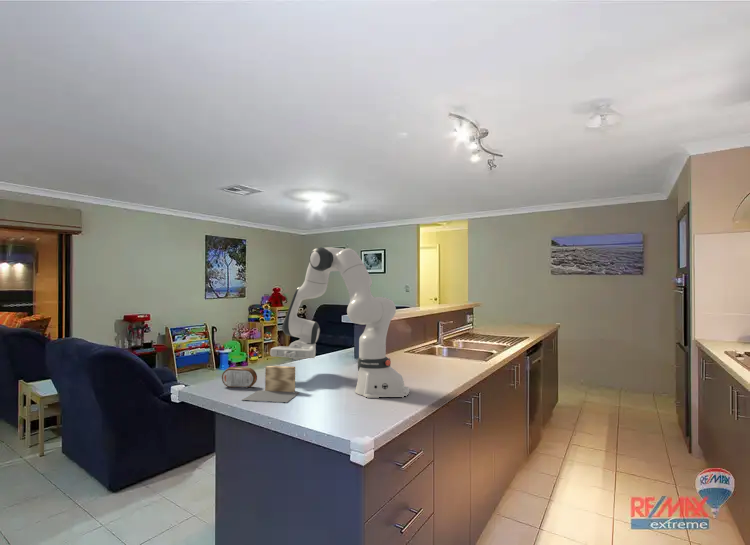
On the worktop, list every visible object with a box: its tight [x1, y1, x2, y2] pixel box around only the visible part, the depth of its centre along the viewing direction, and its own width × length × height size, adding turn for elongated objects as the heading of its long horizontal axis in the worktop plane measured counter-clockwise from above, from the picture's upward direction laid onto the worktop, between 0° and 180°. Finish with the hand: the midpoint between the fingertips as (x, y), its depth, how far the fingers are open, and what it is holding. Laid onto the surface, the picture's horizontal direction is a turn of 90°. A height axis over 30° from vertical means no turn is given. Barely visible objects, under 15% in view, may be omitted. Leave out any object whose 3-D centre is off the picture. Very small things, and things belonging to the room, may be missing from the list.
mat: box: [242, 389, 300, 404], centre depth 146 cm, size 18×13×1 cm
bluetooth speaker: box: [221, 366, 258, 388], centre depth 160 cm, size 15×3×8 cm, turn 84°
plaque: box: [264, 365, 296, 392], centre depth 155 cm, size 12×3×10 cm, turn 81°
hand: (286, 355), depth 162 cm, fingers closed
